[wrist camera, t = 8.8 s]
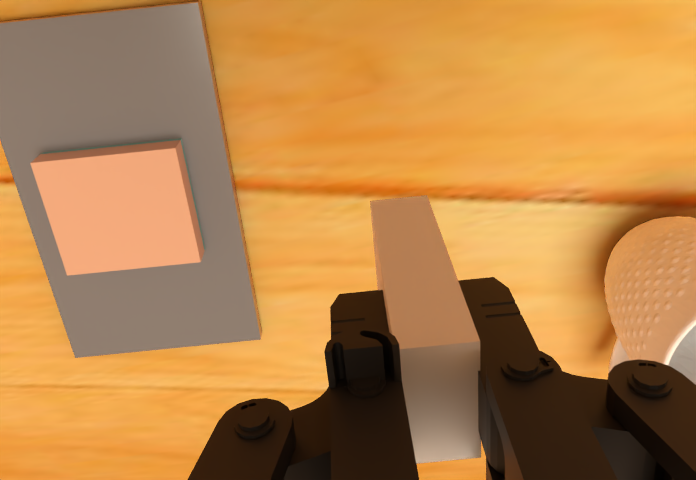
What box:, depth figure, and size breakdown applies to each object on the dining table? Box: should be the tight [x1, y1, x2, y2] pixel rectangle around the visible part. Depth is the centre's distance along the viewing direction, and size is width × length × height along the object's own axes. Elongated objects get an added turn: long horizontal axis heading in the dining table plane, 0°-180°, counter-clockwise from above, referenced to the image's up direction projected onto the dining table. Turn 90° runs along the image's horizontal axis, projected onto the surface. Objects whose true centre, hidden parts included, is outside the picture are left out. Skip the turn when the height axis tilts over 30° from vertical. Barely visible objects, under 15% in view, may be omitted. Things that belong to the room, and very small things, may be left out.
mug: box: [604, 216, 696, 385], centre depth 44 cm, size 15×11×13 cm
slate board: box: [0, 1, 262, 358], centre depth 45 cm, size 24×14×1 cm, turn 5°
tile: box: [30, 138, 205, 276], centre depth 43 cm, size 8×2×9 cm
